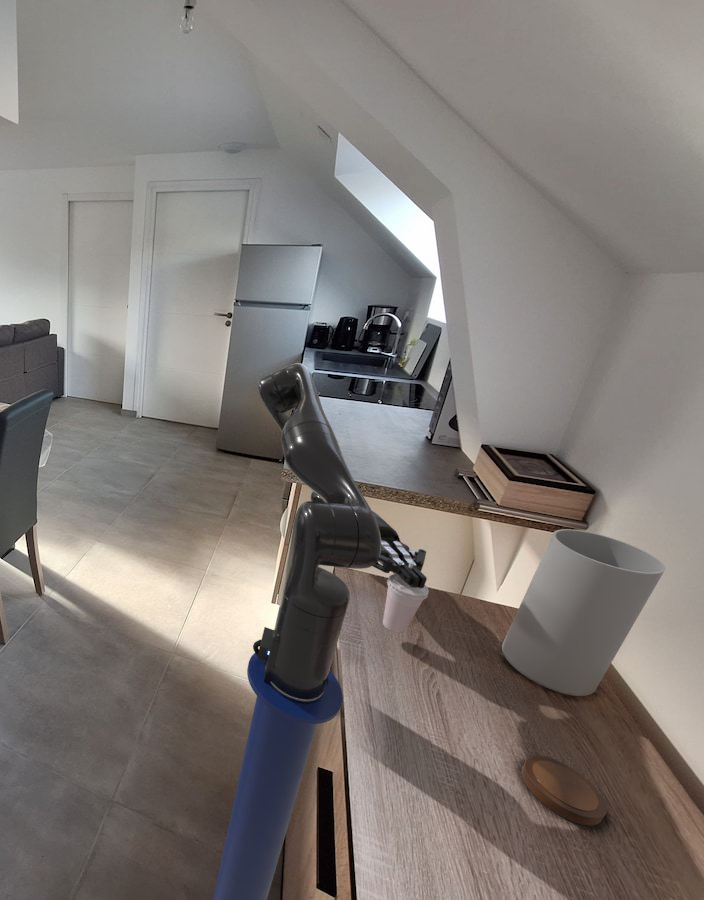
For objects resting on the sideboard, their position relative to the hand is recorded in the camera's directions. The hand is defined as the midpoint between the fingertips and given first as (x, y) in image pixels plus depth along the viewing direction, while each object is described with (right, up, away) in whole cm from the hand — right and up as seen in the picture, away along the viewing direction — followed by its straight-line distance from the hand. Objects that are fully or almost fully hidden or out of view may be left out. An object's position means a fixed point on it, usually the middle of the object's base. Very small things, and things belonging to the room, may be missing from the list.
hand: (419, 583), depth 79 cm
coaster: (+7, -23, -18) cm, 30 cm away
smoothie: (0, -10, +7) cm, 13 cm away
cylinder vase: (+24, -16, +2) cm, 29 cm away
